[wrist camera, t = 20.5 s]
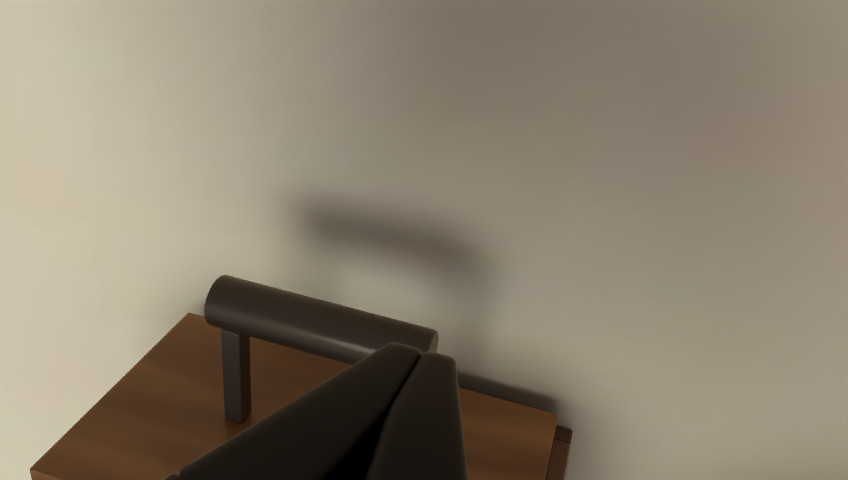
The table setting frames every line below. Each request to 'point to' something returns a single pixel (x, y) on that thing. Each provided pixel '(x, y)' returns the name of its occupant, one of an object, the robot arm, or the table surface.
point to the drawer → (265, 389)
